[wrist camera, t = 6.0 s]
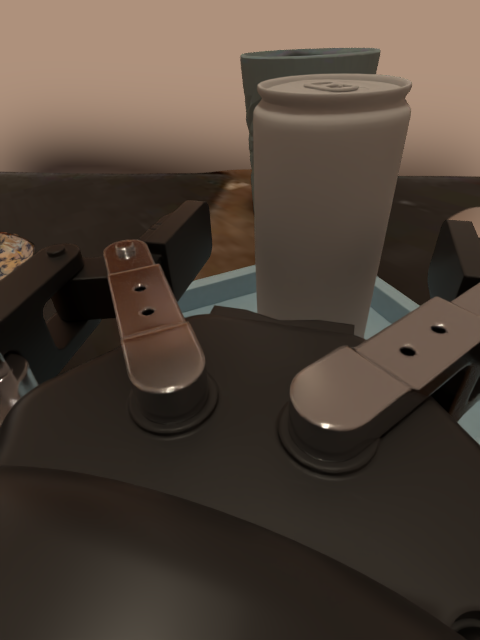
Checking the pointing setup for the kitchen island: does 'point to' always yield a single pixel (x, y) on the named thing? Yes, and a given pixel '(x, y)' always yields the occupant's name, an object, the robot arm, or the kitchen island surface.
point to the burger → (13, 252)
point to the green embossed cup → (298, 72)
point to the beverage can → (324, 191)
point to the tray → (242, 294)
